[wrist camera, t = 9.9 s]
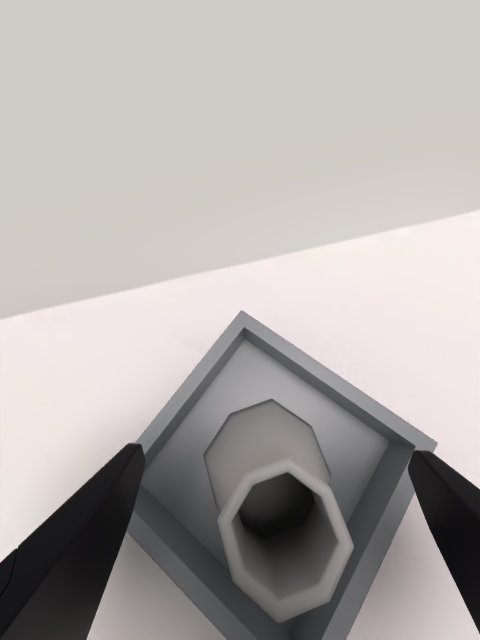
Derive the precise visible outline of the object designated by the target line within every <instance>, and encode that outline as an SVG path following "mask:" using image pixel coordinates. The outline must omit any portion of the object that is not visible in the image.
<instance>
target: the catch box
mask: <svg viewBox="0 0 480 640" xmlns="http://www.w3.org/2000/svg"><path fill="white" fill-rule="evenodd" d="M269 399H274V400H275V401H277V402H278V403H279V404H281V405H282V406H284V407H285V408H287V409H288V410H290V411H291V412H293V413H294V414H295V415H297V416H298V417H300V418H301V419H303V420H304V421H306V422H307V423H308V424H310V425H311V426H312V428H313V431H314V433H315V436H316V438H317V441H318V443H319V445H320V448H321V450H322V453H323V455H324V458H325V460H326V463H327V465H328V468H329V470H330V473H331V475H332V476H331V478H330V480H329V482H328V484H327V485H328V486H329V487H330V488H331V489H332V492H333V494H334V497H335V499H336V502H337V504H338V507H339V509H340V512H341V514H342V517H343V519H344V522H345V524H346V527H347V529H348V532H349V534H350V537H351V539H352V542H353V544H354V548H353V551H352V553H351V555H350V557H349V560H348V562H347V564H346V566H345V568H344V571H343V573H342V575H341V577H340V580H339V582H338V584H337V586H336V589H335V591H334V593H333V595H332V598H331V600H330V602H328V603H326V604H323V605H321V606H319V607H316V608H314V609H311V610H309V611H307V612H304V613H302V614H300V615H297V616H295V617H293V618H290V619H288V620H285V621H283V622H281V623H277V622H276V621H275V620H274V619H273V618H272V617H271V616H269V615H268V614H267V613H266V612H265V611H264V610H263V609H262V608H261V607H260V606H259V605H257V604H256V603H255V602H254V601H253V600H252V599H251V598H250V597H249V596H248V595H247V594H245V593H244V592H243V591H242V590H241V589H240V588H239V587H238V586H237V585H236V584H235V583H233V581H232V577H231V573H230V569H229V565H228V561H227V557H226V553H225V549H224V545H223V541H222V537H221V534H220V530H219V526H218V522H217V520H218V517H219V515H220V513H221V511H220V510H219V509H218V508H217V507H216V503H215V499H214V496H213V492H212V488H211V484H210V480H209V476H208V472H207V468H206V464H205V460H204V457H203V454H204V452H205V451H206V449H207V448H208V446H209V445H210V443H211V442H212V440H213V439H214V437H215V436H216V434H217V433H218V431H219V430H220V428H221V427H222V425H223V424H224V422H225V420H226V419H227V417H228V416H229V414H230V413H233V412H236V411H239V410H241V409H244V408H247V407H250V406H252V405H255V404H258V403H261V402H264V401H266V400H269ZM136 443H140V444H141V445H142V448H143V452H144V456H145V461H146V462H145V468H144V472H143V476H142V479H141V483H140V487H139V491H138V494H137V498H136V502H135V506H134V509H133V513H132V516H131V519H130V522H129V525H128V528H127V532H128V533H129V534H130V535H131V536H132V537H133V538H134V540H135V541H136V542H137V543H138V544H139V545H140V546H141V547H142V548H143V549H144V550H145V551H146V552H147V554H148V555H149V556H150V557H151V558H152V559H153V560H154V561H155V562H156V563H157V564H158V565H159V566H160V568H161V569H162V570H163V571H164V572H165V573H166V574H167V575H168V576H169V577H170V578H171V579H172V580H173V582H174V583H175V584H176V585H177V586H178V587H179V588H180V589H181V590H182V591H183V592H184V593H185V594H186V596H187V597H188V598H189V599H190V600H191V601H192V602H193V603H194V604H195V605H196V606H197V607H198V608H199V610H200V611H201V612H202V613H203V614H204V615H205V616H206V617H207V618H208V619H209V620H210V621H211V622H212V624H213V625H214V626H215V627H216V628H217V629H218V630H219V631H220V632H221V633H222V634H223V635H224V636H225V638H226V639H227V640H346V638H347V636H348V634H349V632H350V629H351V627H352V625H353V623H354V621H355V619H356V617H357V615H358V612H359V610H360V608H361V606H362V604H363V602H364V600H365V597H366V595H367V593H368V591H369V589H370V587H371V585H372V582H373V580H374V578H375V576H376V574H377V572H378V570H379V568H380V565H381V563H382V561H383V559H384V557H385V555H386V553H387V550H388V548H389V546H390V544H391V542H392V540H393V538H394V535H395V533H396V531H397V529H398V527H399V525H400V523H401V521H402V518H403V516H404V514H405V512H406V510H407V508H408V506H409V503H410V501H411V499H412V497H413V495H414V493H415V490H414V487H413V484H412V482H411V479H410V476H409V474H408V464H409V461H410V459H411V456H412V453H413V451H414V450H429V451H431V452H432V453H433V452H434V450H435V448H436V446H437V444H438V443H437V442H436V441H434V440H433V439H431V438H430V437H428V436H427V435H425V434H424V433H423V432H421V431H420V430H418V429H417V428H415V427H414V426H412V425H411V424H409V423H408V422H406V421H405V420H403V419H402V418H400V417H399V416H397V415H396V414H394V413H393V412H392V411H390V410H389V409H387V408H386V407H384V406H383V405H381V404H380V403H378V402H377V401H375V400H374V399H372V398H371V397H369V396H368V395H366V394H365V393H363V392H362V391H361V390H359V389H358V388H356V387H355V386H353V385H352V384H350V383H349V382H347V381H346V380H344V379H343V378H341V377H340V376H338V375H337V374H335V373H334V372H332V371H331V370H330V369H328V368H327V367H325V366H324V365H322V364H321V363H319V362H318V361H316V360H315V359H313V358H312V357H310V356H309V355H307V354H306V353H304V352H303V351H301V350H300V349H299V348H297V347H296V346H294V345H293V344H291V343H290V342H288V341H287V340H285V339H284V338H282V337H281V336H279V335H278V334H276V333H275V332H273V331H272V330H270V329H269V328H268V327H266V326H265V325H263V324H262V323H260V322H259V321H257V320H256V319H254V318H253V317H251V316H250V315H248V314H247V313H245V312H244V311H242V310H241V311H240V312H239V314H238V315H237V316H236V317H235V319H234V320H233V321H232V322H231V324H230V325H229V326H228V328H227V329H226V330H225V331H224V333H223V334H222V335H221V336H220V338H219V339H218V340H217V341H216V343H215V344H214V345H213V346H212V348H211V349H210V350H209V351H208V353H207V354H206V355H205V356H204V358H203V359H202V360H201V361H200V363H199V364H198V365H197V366H196V368H195V369H194V370H193V371H192V373H191V374H190V375H189V376H188V378H187V379H186V380H185V381H184V383H183V384H182V385H181V386H180V388H179V389H178V390H177V391H176V393H175V394H174V395H173V396H172V398H171V399H170V400H169V401H168V403H167V404H166V405H165V406H164V408H163V409H162V410H161V411H160V413H159V414H158V415H157V416H156V418H155V419H154V420H153V421H152V423H151V424H150V425H149V426H148V428H147V429H146V430H145V431H144V433H143V434H142V435H141V436H140V438H139V439H138V440H137V442H136Z"/></svg>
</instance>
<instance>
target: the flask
mask: <svg viewBox="0 0 480 640" xmlns="http://www.w3.org/2000/svg"><path fill="white" fill-rule="evenodd" d="M203 457H204V460H205V464H206V468H207V472H208V476H209V480H210V484H211V488H212V492H213V496H214V499H215V503H216V507H217V508H218V509H219V510H220V511H221V513H220V515H219V517H218V520H217V522H218V526H219V530H220V534H221V537H222V541H223V545H224V549H225V553H226V557H227V561H228V565H229V569H230V573H231V577H232V581H233V583H235V584H236V585H237V586H238V587H239V588H240V589H241V590H242V591H243V592H244V593H245V594H247V595H248V596H249V597H250V598H251V599H252V600H253V601H254V602H255V603H256V604H257V605H259V606H260V607H261V608H262V609H263V610H264V611H265V612H266V613H267V614H268V615H269V616H271V617H272V618H273V619H274V620H275V621H276V622H277V623H281V622H283V621H285V620H288V619H290V618H293V617H295V616H297V615H300V614H302V613H304V612H307V611H309V610H311V609H314V608H316V607H319V606H321V605H323V604H326V603H328V602H330V600H331V598H332V595H333V593H334V591H335V589H336V586H337V584H338V582H339V580H340V577H341V575H342V573H343V571H344V568H345V566H346V564H347V562H348V560H349V557H350V555H351V553H352V551H353V548H354V544H353V542H352V539H351V537H350V534H349V532H348V529H347V527H346V524H345V522H344V519H343V517H342V514H341V512H340V509H339V507H338V504H337V502H336V499H335V497H334V494H333V492H332V489H331V488H330V487H329V486H328V485H327V484H328V482H329V480H330V478H331V476H332V475H331V473H330V470H329V468H328V465H327V463H326V460H325V458H324V455H323V453H322V450H321V448H320V445H319V443H318V441H317V438H316V436H315V433H314V431H313V428H312V426H311V425H310V424H308V423H307V422H306V421H304V420H303V419H301V418H300V417H298V416H297V415H295V414H294V413H293V412H291V411H290V410H288V409H287V408H285V407H284V406H282V405H281V404H279V403H278V402H277V401H275V400H274V399H269V400H266V401H264V402H261V403H258V404H255V405H252V406H250V407H247V408H244V409H241V410H239V411H236V412H233V413H230V414H229V416H228V417H227V419H226V420H225V422H224V424H223V425H222V427H221V428H220V430H219V431H218V433H217V434H216V436H215V437H214V439H213V440H212V442H211V443H210V445H209V446H208V448H207V449H206V451H205V452H204V454H203Z"/></svg>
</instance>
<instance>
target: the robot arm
mask: <svg viewBox="0 0 480 640" xmlns="http://www.w3.org/2000/svg"><path fill="white" fill-rule="evenodd" d="M145 462H146V461H145V456H144V452H143V448H142V445H141V444H140V443H129V444H127V445H126V446H125V447H124V448H123V449H122V450H120V451H119V452H118V453H117V454H116V455H115V456H114V457H113V458H112V459H111V460H110V461H109V462H108V463H107V464H105V465H104V466H103V467H102V468H101V469H100V470H99V471H98V472H97V473H96V474H95V475H94V476H93V477H92V478H90V479H89V480H88V481H87V482H86V483H85V484H84V485H83V486H82V487H81V488H80V489H79V490H78V491H77V492H75V493H74V494H73V495H72V496H71V497H70V498H69V499H68V500H67V501H66V502H65V503H64V504H63V505H62V506H61V507H59V508H58V509H57V510H56V511H55V512H54V513H53V514H52V515H51V516H50V517H49V518H48V519H47V520H46V521H44V522H43V523H42V524H41V525H40V526H39V527H38V528H37V529H36V530H35V531H34V532H33V533H32V534H31V535H29V536H28V537H27V538H26V539H25V540H24V541H23V542H22V543H21V544H20V545H19V546H18V549H17V548H16V549H14V550H13V551H12V552H11V553H10V554H9V555H8V556H7V557H6V558H5V559H4V560H3V561H1V562H0V640H86V639H87V636H88V634H89V631H90V628H91V625H92V623H93V620H94V617H95V615H96V612H97V609H98V606H99V604H100V601H101V598H102V596H103V593H104V590H105V587H106V585H107V582H108V579H109V577H110V574H111V571H112V568H113V566H114V563H115V560H116V558H117V555H118V552H119V550H120V547H121V544H122V541H123V539H124V536H125V533H126V531H127V528H128V525H129V522H130V519H131V516H132V513H133V509H134V506H135V502H136V498H137V494H138V491H139V487H140V483H141V479H142V476H143V472H144V468H145ZM408 474H409V476H410V479H411V482H412V484H413V487H414V490H415V492H416V495H417V498H418V500H419V503H420V506H421V508H422V511H423V514H424V516H425V519H426V521H427V524H428V526H429V529H430V531H431V533H432V535H433V537H434V539H435V542H436V544H437V546H438V548H439V550H440V552H441V554H442V556H443V558H444V560H445V562H446V564H447V566H448V569H449V571H450V573H451V575H452V577H453V579H454V581H455V583H456V585H457V587H458V589H459V591H460V594H461V596H462V598H463V600H464V602H465V604H466V606H467V608H468V610H469V612H470V614H471V616H472V619H473V621H474V623H475V625H476V627H477V629H478V631H479V633H480V489H479V488H477V487H476V486H475V485H474V484H472V483H471V482H470V481H468V480H467V479H466V478H464V477H463V476H462V475H461V474H459V473H458V472H457V471H455V470H454V469H453V468H452V467H450V466H449V465H448V464H446V463H445V462H444V461H442V460H441V459H440V458H439V457H437V456H436V455H435V454H433V453H432V452H431V451H429V450H414V451H413V453H412V456H411V459H410V461H409V464H408Z"/></svg>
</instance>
